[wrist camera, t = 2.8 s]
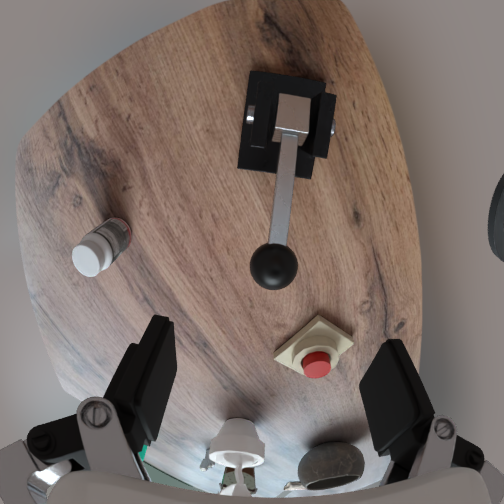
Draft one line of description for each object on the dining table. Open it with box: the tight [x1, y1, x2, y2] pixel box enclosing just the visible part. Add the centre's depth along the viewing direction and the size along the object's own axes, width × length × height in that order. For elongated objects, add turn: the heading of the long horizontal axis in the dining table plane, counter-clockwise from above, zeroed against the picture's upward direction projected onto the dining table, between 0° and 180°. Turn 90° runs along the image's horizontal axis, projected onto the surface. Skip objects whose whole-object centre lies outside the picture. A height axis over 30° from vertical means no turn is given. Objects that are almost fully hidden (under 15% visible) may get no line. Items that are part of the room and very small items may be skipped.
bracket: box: [237, 71, 337, 179], centre depth 21 cm, size 11×8×13 cm
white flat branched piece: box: [200, 450, 215, 471], centre depth 57 cm, size 7×2×8 cm, turn 11°
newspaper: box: [284, 482, 306, 490], centre depth 77 cm, size 23×12×2 cm, turn 81°
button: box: [303, 351, 331, 378], centre depth 36 cm, size 4×4×2 cm
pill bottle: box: [72, 217, 132, 277], centre depth 29 cm, size 5×5×8 cm
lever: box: [250, 93, 311, 290], centre depth 17 cm, size 13×3×3 cm, turn 173°
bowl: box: [298, 442, 365, 490], centre depth 52 cm, size 18×18×13 cm
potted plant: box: [209, 418, 265, 497], centre depth 41 cm, size 13×12×25 cm
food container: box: [219, 467, 258, 494], centre depth 63 cm, size 12×6×10 cm, turn 64°
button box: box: [273, 315, 354, 376], centre depth 38 cm, size 10×8×4 cm
